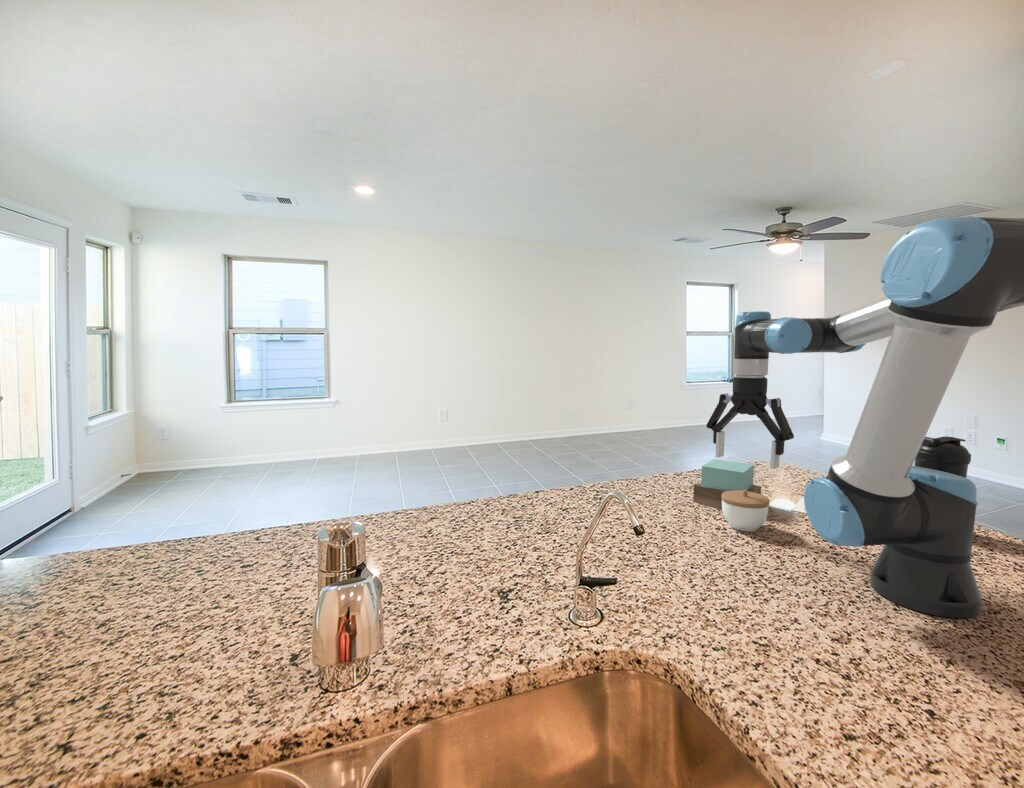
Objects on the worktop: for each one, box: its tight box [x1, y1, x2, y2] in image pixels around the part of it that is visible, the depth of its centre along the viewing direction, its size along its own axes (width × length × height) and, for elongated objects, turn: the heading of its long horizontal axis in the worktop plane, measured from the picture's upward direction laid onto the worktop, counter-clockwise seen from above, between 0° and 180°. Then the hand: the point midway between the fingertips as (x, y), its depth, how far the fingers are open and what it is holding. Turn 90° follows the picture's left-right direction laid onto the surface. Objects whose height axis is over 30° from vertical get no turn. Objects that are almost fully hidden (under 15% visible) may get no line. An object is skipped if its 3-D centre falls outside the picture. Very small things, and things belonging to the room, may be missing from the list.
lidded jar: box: [721, 490, 770, 532], centre depth 118 cm, size 11×11×9 cm
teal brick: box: [700, 458, 755, 491], centre depth 136 cm, size 11×11×6 cm
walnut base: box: [692, 482, 762, 510], centre depth 136 cm, size 13×13×5 cm
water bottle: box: [914, 436, 972, 478], centre depth 114 cm, size 10×10×23 cm
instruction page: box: [790, 497, 807, 515], centre depth 131 cm, size 14×10×1 cm
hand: (745, 462), depth 117 cm, fingers open, 13 cm apart
